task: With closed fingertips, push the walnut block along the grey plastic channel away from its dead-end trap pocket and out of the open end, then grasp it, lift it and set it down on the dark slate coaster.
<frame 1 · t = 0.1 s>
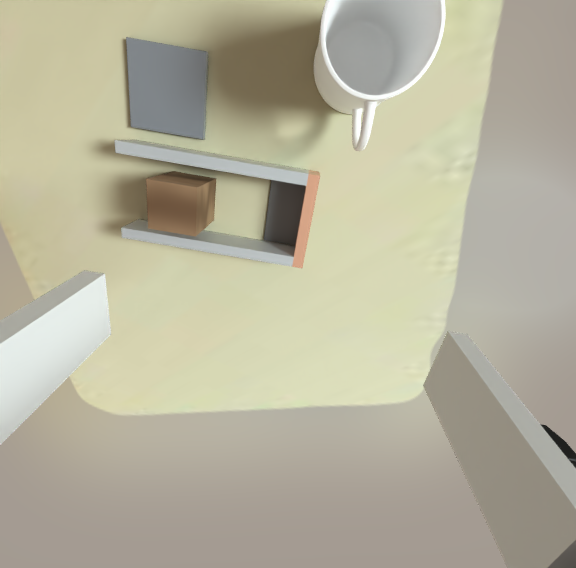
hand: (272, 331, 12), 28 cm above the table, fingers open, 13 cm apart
coaster: (169, 91, 33), on the table
mug: (353, 85, 32), on the table
channel: (218, 200, 38), on the table
block: (194, 196, 38), resting in channel
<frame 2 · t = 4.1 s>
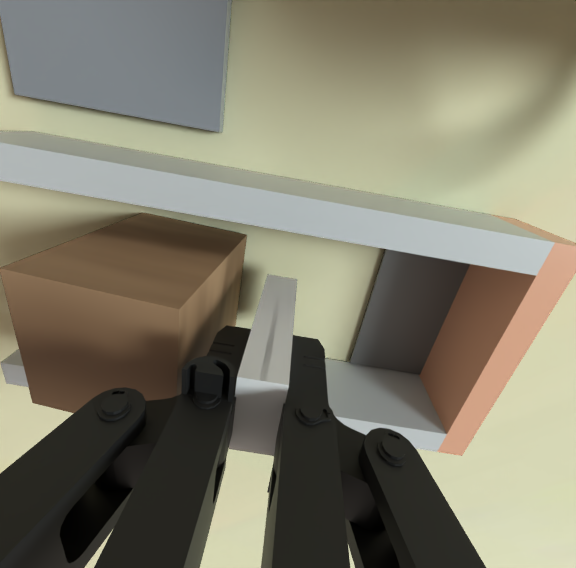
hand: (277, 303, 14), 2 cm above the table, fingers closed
channel: (252, 280, 16), on the table
block: (192, 272, 16), resting in channel, touching gripper
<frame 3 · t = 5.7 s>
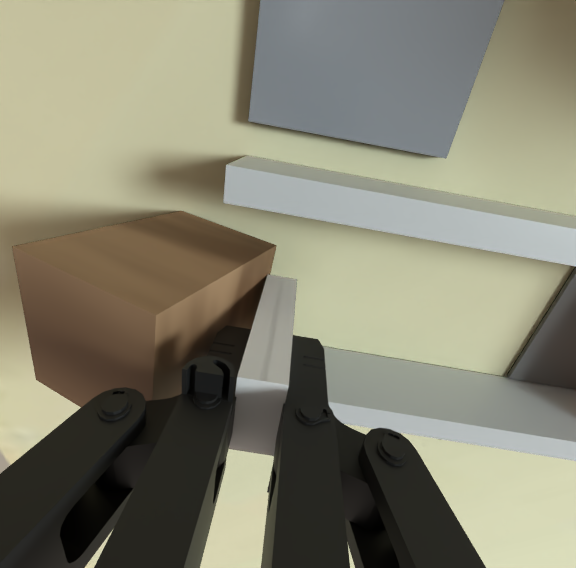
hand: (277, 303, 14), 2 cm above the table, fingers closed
coaster: (374, 17, 11), on the table
channel: (429, 299, 16), on the table
block: (219, 276, 15), point 1 cm above the table, tilted 20°, touching gripper
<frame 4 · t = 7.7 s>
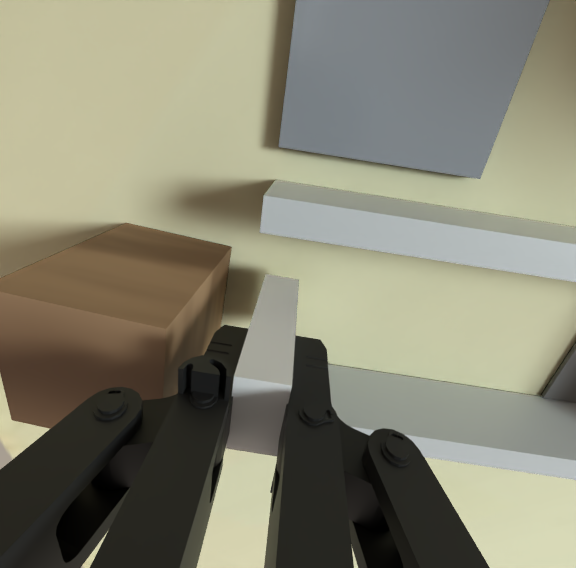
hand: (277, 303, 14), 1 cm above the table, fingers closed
coaster: (406, 42, 11), on the table
channel: (461, 318, 16), on the table
block: (176, 282, 16), on the table
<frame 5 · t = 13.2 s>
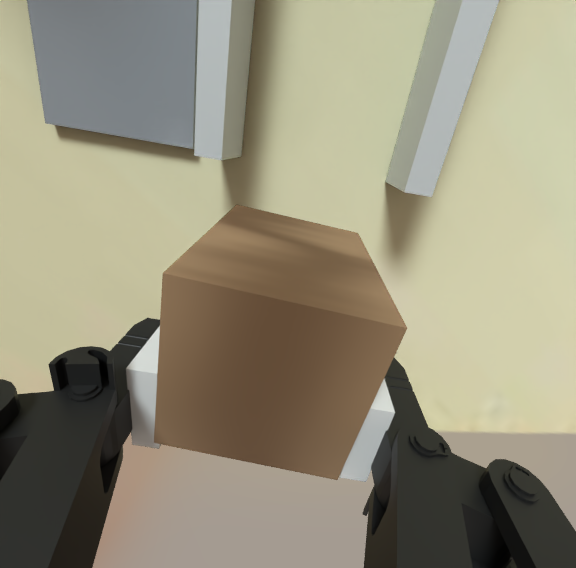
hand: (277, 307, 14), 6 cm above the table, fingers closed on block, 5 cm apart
coaster: (120, 48, 16), on the table
block: (284, 274, 14), point 6 cm above the table, touching gripper
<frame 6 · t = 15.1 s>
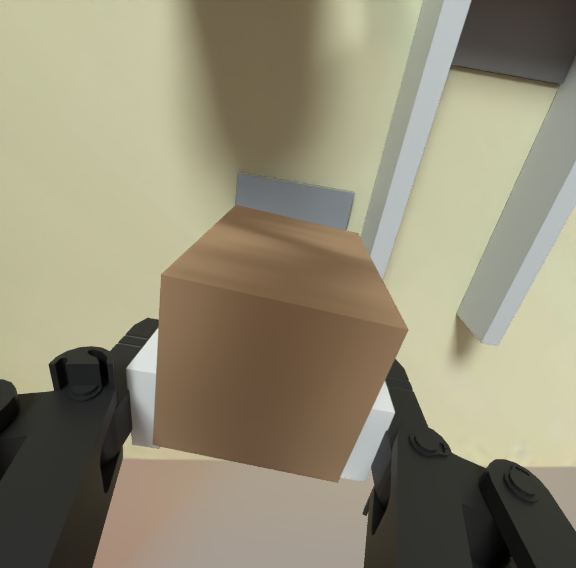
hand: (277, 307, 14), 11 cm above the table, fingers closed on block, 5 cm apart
coaster: (287, 237, 23), on the table
channel: (455, 177, 21), on the table
block: (284, 275, 14), point 10 cm above the table, touching gripper
when the fingers open (1 cm above the table, at t = 17.0 s): block stays where it is, resting on coaster.
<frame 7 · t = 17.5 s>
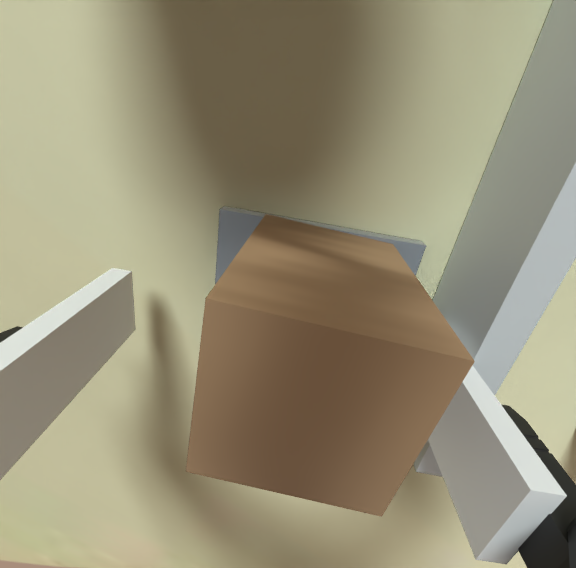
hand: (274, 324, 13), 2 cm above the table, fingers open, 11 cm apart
coaster: (304, 309, 14), on the table
block: (313, 286, 13), point 1 cm above the table, touching coaster
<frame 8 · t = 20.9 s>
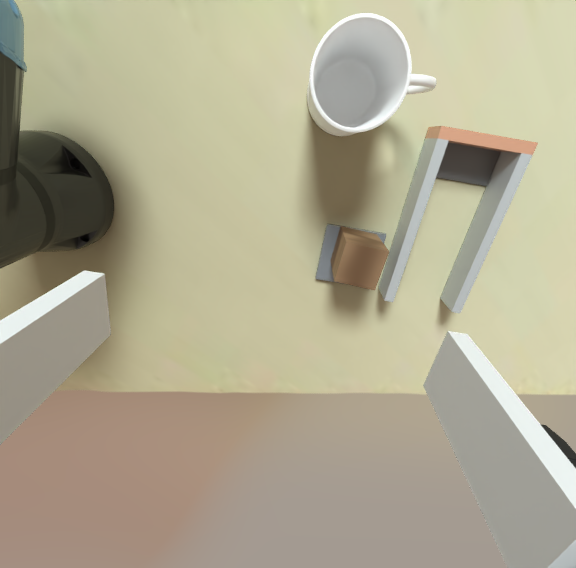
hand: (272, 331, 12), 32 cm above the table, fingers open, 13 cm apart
coaster: (349, 256, 44), on the table
mug: (358, 96, 36), on the table
channel: (437, 227, 42), on the table
block: (353, 247, 43), point 1 cm above the table, touching coaster
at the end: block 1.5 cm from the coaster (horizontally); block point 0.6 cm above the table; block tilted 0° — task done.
